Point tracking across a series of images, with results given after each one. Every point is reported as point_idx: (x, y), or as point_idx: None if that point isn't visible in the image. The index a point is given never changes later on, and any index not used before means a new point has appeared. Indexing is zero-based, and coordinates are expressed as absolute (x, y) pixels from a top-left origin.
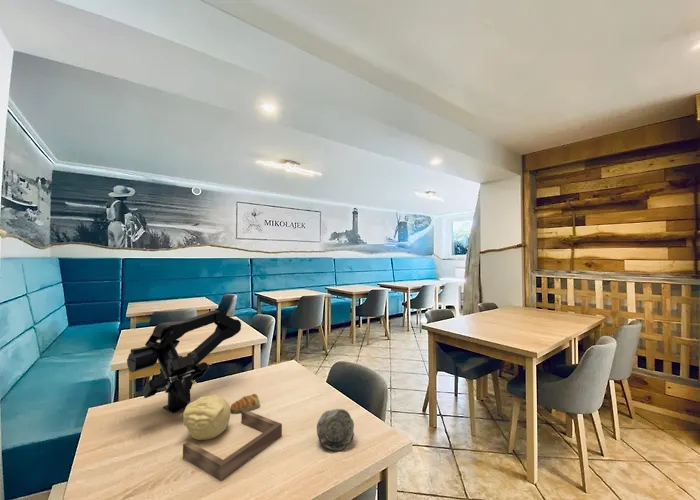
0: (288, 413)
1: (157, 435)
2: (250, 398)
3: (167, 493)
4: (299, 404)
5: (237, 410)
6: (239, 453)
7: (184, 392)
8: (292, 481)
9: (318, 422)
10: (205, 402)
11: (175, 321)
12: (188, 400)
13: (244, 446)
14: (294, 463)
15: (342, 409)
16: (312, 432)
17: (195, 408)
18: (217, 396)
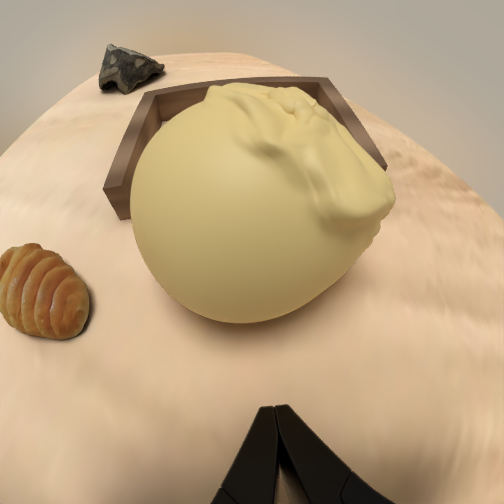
0: (58, 171)
1: (412, 412)
2: (21, 257)
3: (412, 141)
4: (19, 187)
5: (81, 279)
6: (282, 77)
7: (313, 468)
8: (244, 65)
9: (139, 54)
10: (292, 87)
11: None
12: (281, 407)
13: (261, 80)
14: (212, 75)
15: (109, 44)
16: (121, 103)
17: (342, 132)
18: (181, 119)
